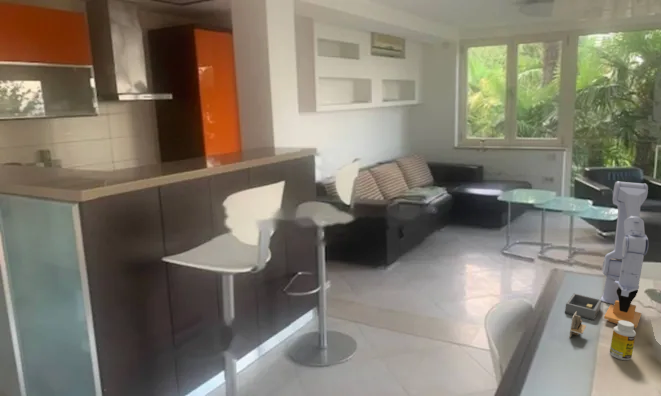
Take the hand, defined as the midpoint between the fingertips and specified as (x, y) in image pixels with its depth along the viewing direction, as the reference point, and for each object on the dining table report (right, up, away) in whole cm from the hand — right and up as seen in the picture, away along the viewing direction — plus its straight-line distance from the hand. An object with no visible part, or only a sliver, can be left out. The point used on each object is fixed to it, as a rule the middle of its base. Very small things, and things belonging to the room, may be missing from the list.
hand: (623, 310), depth 167 cm
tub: (-10, -2, +7) cm, 13 cm away
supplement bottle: (-14, -8, -23) cm, 28 cm away
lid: (0, -3, +1) cm, 3 cm away
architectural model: (-22, -6, -11) cm, 25 cm away
